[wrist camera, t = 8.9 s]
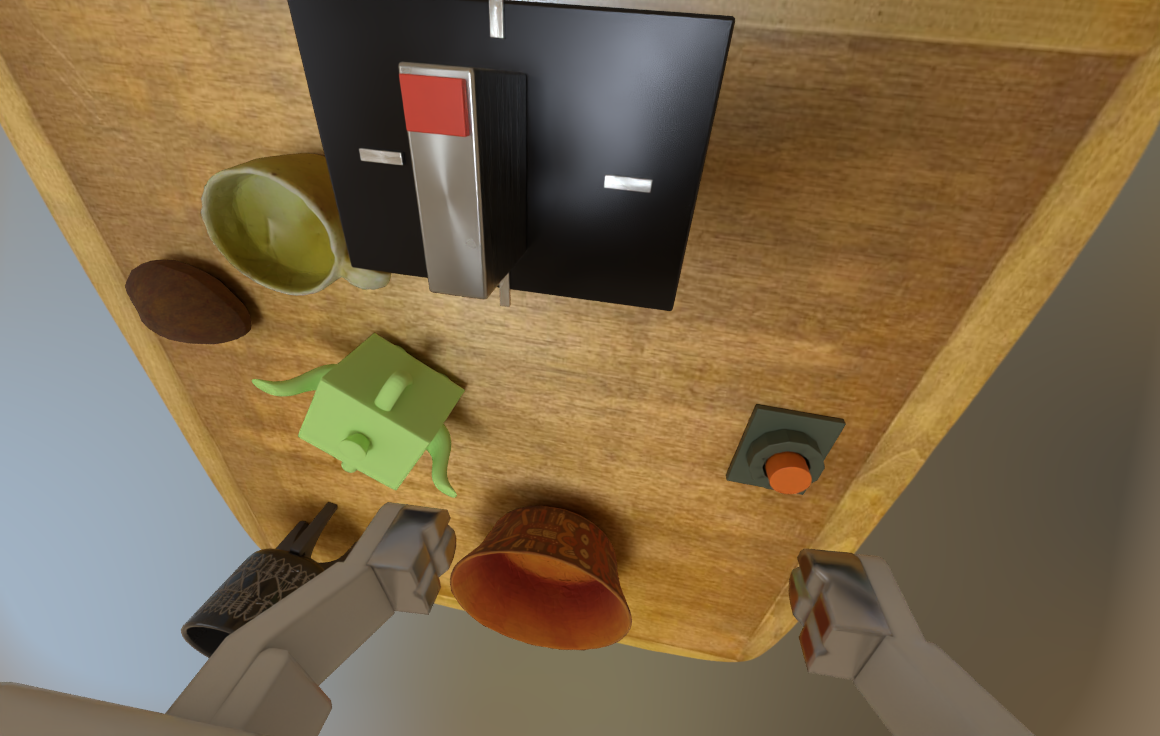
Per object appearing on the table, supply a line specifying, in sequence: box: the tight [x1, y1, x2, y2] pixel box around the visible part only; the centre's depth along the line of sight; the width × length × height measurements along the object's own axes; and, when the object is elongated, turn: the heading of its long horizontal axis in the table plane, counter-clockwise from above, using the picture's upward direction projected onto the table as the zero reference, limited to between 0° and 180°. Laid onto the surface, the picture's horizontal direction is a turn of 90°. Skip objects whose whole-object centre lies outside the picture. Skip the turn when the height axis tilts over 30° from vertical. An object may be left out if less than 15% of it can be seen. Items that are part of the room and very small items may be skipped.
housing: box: [726, 404, 846, 495], centre depth 41 cm, size 10×8×2 cm
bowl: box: [450, 506, 632, 650], centre depth 52 cm, size 21×21×10 cm
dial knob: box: [398, 61, 526, 299], centre depth 11 cm, size 5×2×4 cm, turn 176°
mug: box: [201, 153, 391, 295], centre depth 33 cm, size 12×10×10 cm
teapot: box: [252, 333, 465, 497], centre depth 41 cm, size 15×13×11 cm
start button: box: [765, 451, 812, 494], centre depth 40 cm, size 4×4×2 cm
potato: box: [125, 260, 251, 344], centre depth 40 cm, size 7×10×7 cm
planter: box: [181, 502, 358, 658], centre depth 57 cm, size 13×13×18 cm
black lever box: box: [287, 0, 735, 311], centre depth 21 cm, size 12×9×20 cm
